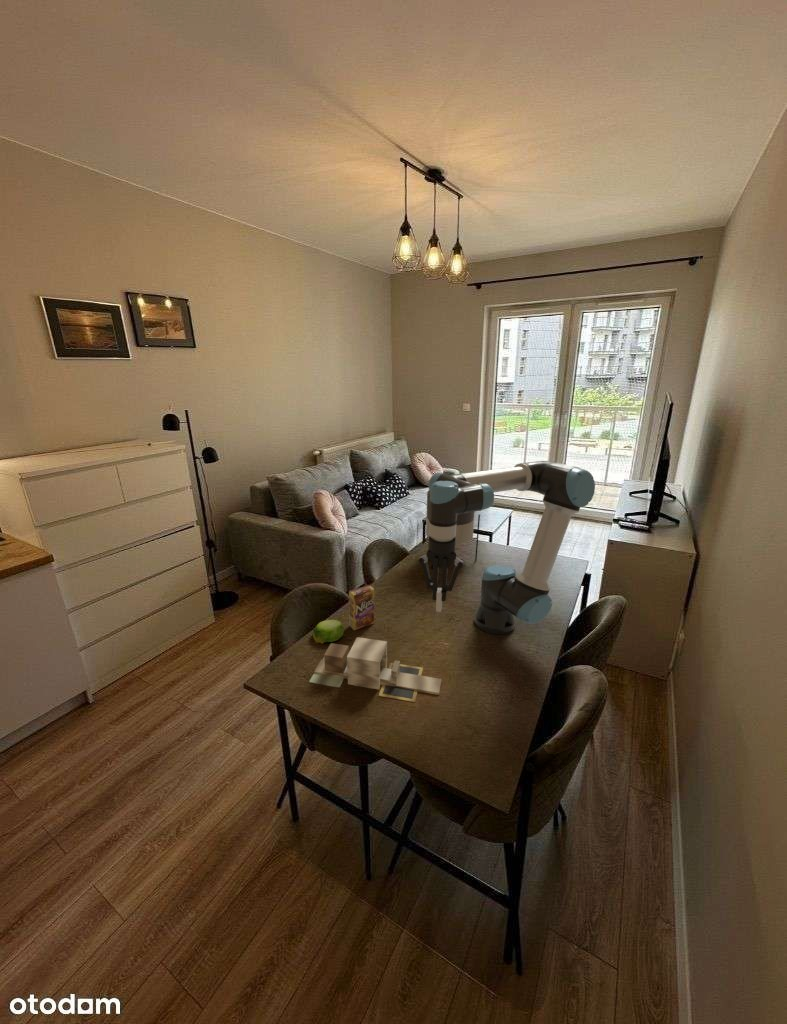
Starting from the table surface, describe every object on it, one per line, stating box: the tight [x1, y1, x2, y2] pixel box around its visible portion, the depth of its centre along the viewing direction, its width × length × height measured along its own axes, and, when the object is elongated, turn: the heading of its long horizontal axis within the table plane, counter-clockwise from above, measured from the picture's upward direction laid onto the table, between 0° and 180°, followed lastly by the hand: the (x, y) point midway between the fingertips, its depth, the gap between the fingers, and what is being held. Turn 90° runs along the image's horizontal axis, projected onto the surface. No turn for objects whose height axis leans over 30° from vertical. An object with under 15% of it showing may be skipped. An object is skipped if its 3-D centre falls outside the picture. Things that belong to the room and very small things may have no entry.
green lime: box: [312, 619, 344, 644], centre depth 152 cm, size 12×11×5 cm
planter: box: [425, 489, 481, 569], centre depth 206 cm, size 26×25×35 cm
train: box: [323, 642, 401, 684], centre depth 131 cm, size 24×6×7 cm, turn 77°
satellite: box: [308, 637, 442, 703], centre depth 130 cm, size 40×15×10 cm, turn 77°
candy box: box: [348, 584, 375, 631], centre depth 156 cm, size 9×4×15 cm, turn 123°
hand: (438, 609), depth 124 cm, fingers closed
